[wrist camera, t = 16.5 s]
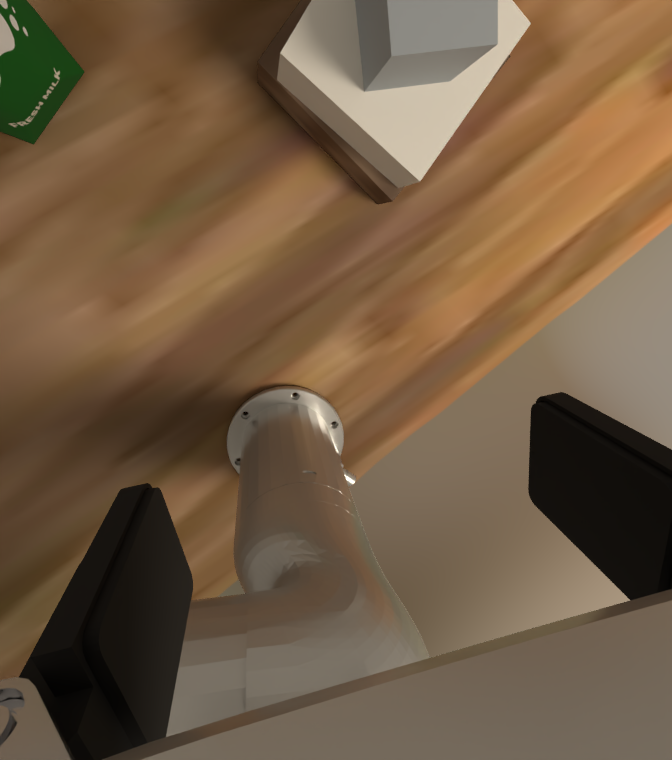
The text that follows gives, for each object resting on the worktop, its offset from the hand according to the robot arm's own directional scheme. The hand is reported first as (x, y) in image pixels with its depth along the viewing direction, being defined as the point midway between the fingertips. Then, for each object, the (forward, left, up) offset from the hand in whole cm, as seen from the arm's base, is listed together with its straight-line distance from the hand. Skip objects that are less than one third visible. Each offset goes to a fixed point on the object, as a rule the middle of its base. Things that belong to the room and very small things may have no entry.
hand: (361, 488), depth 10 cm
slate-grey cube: (+6, -19, -23) cm, 30 cm away
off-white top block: (+6, -19, -28) cm, 34 cm away
